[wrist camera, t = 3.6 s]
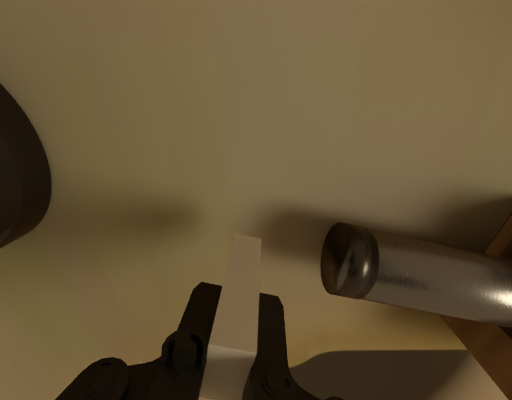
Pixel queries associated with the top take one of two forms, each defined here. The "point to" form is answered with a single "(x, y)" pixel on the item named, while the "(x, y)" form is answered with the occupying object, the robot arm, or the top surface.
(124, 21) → the top surface
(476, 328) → the sleeve
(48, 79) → the top surface
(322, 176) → the top surface
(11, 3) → the top surface
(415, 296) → the tube
